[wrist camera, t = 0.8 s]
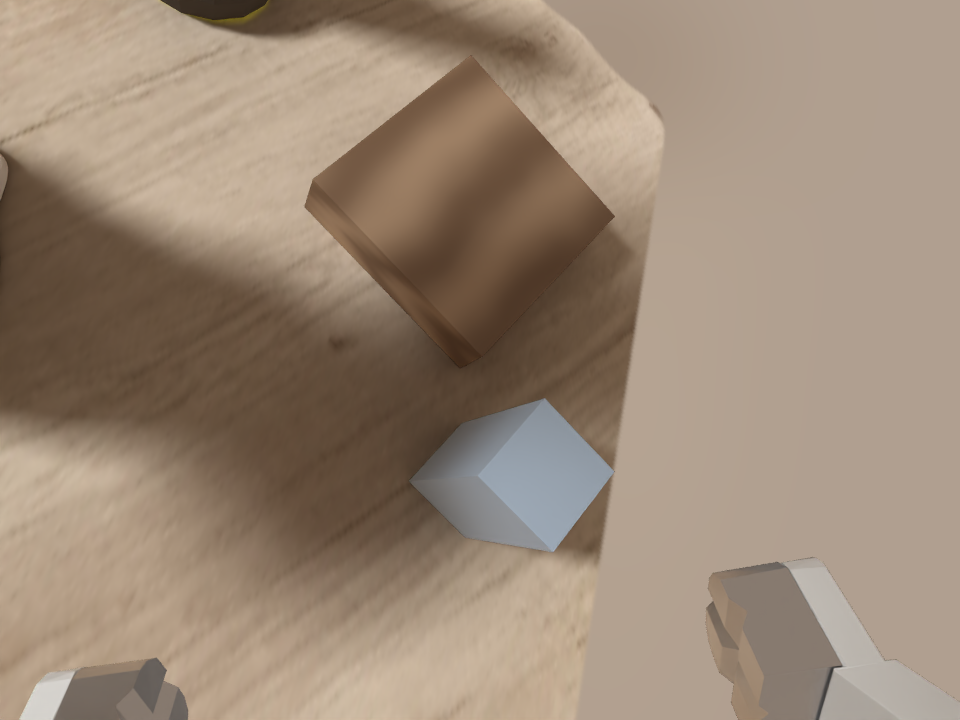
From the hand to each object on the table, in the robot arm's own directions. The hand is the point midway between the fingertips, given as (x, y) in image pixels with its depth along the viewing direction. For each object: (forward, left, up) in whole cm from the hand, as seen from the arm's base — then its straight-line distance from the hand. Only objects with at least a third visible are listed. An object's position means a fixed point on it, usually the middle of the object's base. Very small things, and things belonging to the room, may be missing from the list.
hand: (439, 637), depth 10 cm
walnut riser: (-6, +22, -31) cm, 38 cm away
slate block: (+6, +10, -31) cm, 33 cm away
